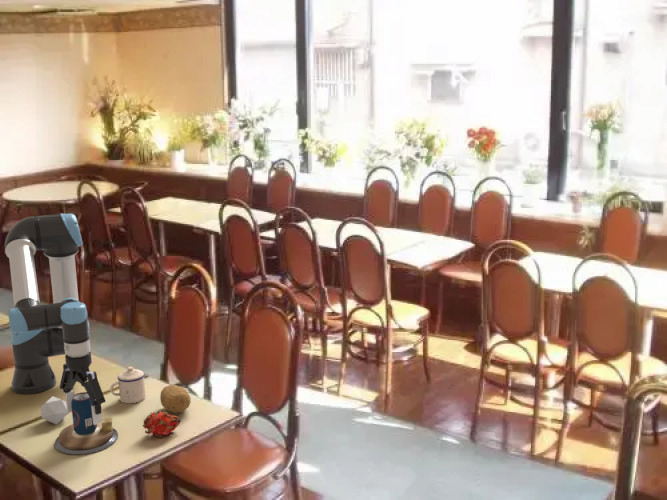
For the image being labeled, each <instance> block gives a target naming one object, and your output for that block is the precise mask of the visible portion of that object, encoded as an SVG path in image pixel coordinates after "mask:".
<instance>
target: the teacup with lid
mask: <svg viewBox="0 0 667 500" xmlns="http://www.w3.org/2000/svg"><path fill="white" fill-rule="evenodd" d="M117 380H118V381H116V382H113V383H112V384H111V385H110V387H109V389H110V393H111V394H112V395H113V396H115V397H119V400H120V402H122V403H124V404H137V403H140V402H143V400H145V398H146V389H145V388H146V386H145V372H144V371H143V370H140V369H136V368H134V367H133V366H128V367H127V369H125V370H124V371H121V372H120V373H119V374H118V375H117ZM116 385H117V386H118V390H119V393H115V392H114V390H113V389H114V387H115V386H116ZM136 402H137V403H136Z"/></svg>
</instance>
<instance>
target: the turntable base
mask: <svg viewBox="0 0 667 500" xmlns="http://www.w3.org/2000/svg"><path fill="white" fill-rule="evenodd" d="M112 429H113V436H112V438H111V439H110V440H109V441H108V442H106V443H105V444H103V445H100V446H98V447H95V448H91V449H85V450H71V449H67V448H64V447H63V446H61V444H60V441H59V436H58V437H56V439H55V440H54V449H56V451H58V452H60V453H61V454H65V455H69V456H84V455H90V453H91V454H95V453H99V452H101V451H104V450H106V449H107V448H111V446H113V445H114V444H115V443H116V442H117V441H118V439H119V432H118V430H117V429H115V428H114V427H112ZM116 440H117V441H116ZM103 449H104V450H103ZM98 451H99V452H98ZM94 452H95V453H94ZM83 454H84V455H83Z"/></svg>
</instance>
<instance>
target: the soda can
mask: <svg viewBox="0 0 667 500" xmlns="http://www.w3.org/2000/svg"><path fill="white" fill-rule="evenodd" d="M92 404H93V403H92V401H91V399H90V397H89V395H88V393H87V391H82V392H78V393H76V394H75V393H74V396H73V399H72V401H71V407H72V412H71V414H72V424H73V426H74V431H75V432H76V433H77V434H78V435H81V436H85V435H90V434H92V433H94V432H95V430H96V428H97V424H96V425H94V424H93V417H92V407H91V405H92Z"/></svg>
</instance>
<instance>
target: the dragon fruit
mask: <svg viewBox="0 0 667 500" xmlns="http://www.w3.org/2000/svg"><path fill="white" fill-rule="evenodd" d="M180 422H181V419H180V417H178V415H171V414H170V413H169V411H164V412H162V411H160V410H159V411H157V412H150V413H149V414H148V415H147V416H146V418H145V419H144V420H143V424H142V427H143V428H144V429H147V430H145V433H144V434H146V435H150V434H152V435H153V436H154V437H156V436H157V437H158V438H159V439H161V438H162V437H163V436H171V435H173V434H174V433H175V430H176V428H178V425H179V424H180Z"/></svg>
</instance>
